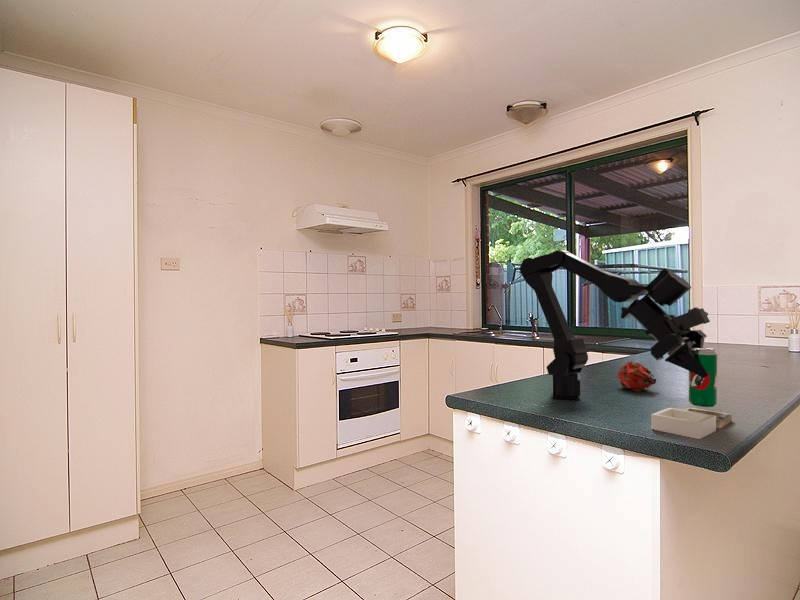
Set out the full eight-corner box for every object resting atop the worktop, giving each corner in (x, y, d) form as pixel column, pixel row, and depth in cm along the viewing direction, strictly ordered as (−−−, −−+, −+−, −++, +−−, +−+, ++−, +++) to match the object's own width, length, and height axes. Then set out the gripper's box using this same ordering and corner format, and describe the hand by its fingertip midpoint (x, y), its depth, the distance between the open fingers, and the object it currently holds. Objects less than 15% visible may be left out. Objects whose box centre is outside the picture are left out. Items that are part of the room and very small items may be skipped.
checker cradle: (675, 420, 99) (675, 412, 99) (688, 413, 104) (688, 405, 104) (720, 428, 93) (720, 419, 93) (731, 421, 98) (731, 412, 98)
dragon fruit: (624, 390, 138) (650, 405, 127) (603, 374, 137) (628, 388, 125) (641, 367, 138) (669, 380, 126) (621, 351, 136) (647, 363, 124)
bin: (651, 429, 93) (651, 414, 93) (669, 421, 98) (669, 407, 98) (699, 439, 86) (699, 423, 86) (716, 430, 92) (716, 415, 92)
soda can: (721, 408, 96) (721, 350, 96) (694, 407, 97) (694, 350, 97) (710, 402, 101) (710, 347, 101) (684, 401, 102) (685, 347, 102)
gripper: (667, 295, 95) (730, 354, 87) (696, 295, 107) (754, 346, 99) (627, 331, 101) (683, 389, 93) (659, 326, 114) (711, 377, 105)
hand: (710, 374), depth 98 cm, fingers closed on soda can, 5 cm apart
